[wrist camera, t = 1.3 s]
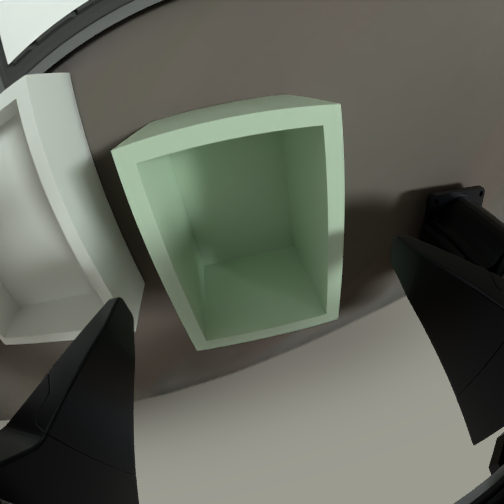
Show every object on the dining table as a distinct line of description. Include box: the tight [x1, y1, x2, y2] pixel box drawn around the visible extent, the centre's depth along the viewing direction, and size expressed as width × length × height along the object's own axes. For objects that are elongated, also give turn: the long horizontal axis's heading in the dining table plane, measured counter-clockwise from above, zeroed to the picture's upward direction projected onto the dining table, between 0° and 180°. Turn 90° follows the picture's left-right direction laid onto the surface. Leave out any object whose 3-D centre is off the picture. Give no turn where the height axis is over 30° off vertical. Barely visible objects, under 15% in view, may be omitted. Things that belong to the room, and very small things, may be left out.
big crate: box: [0, 73, 145, 345], centre depth 11 cm, size 12×13×4 cm
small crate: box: [111, 94, 345, 351], centre depth 12 cm, size 6×9×6 cm
